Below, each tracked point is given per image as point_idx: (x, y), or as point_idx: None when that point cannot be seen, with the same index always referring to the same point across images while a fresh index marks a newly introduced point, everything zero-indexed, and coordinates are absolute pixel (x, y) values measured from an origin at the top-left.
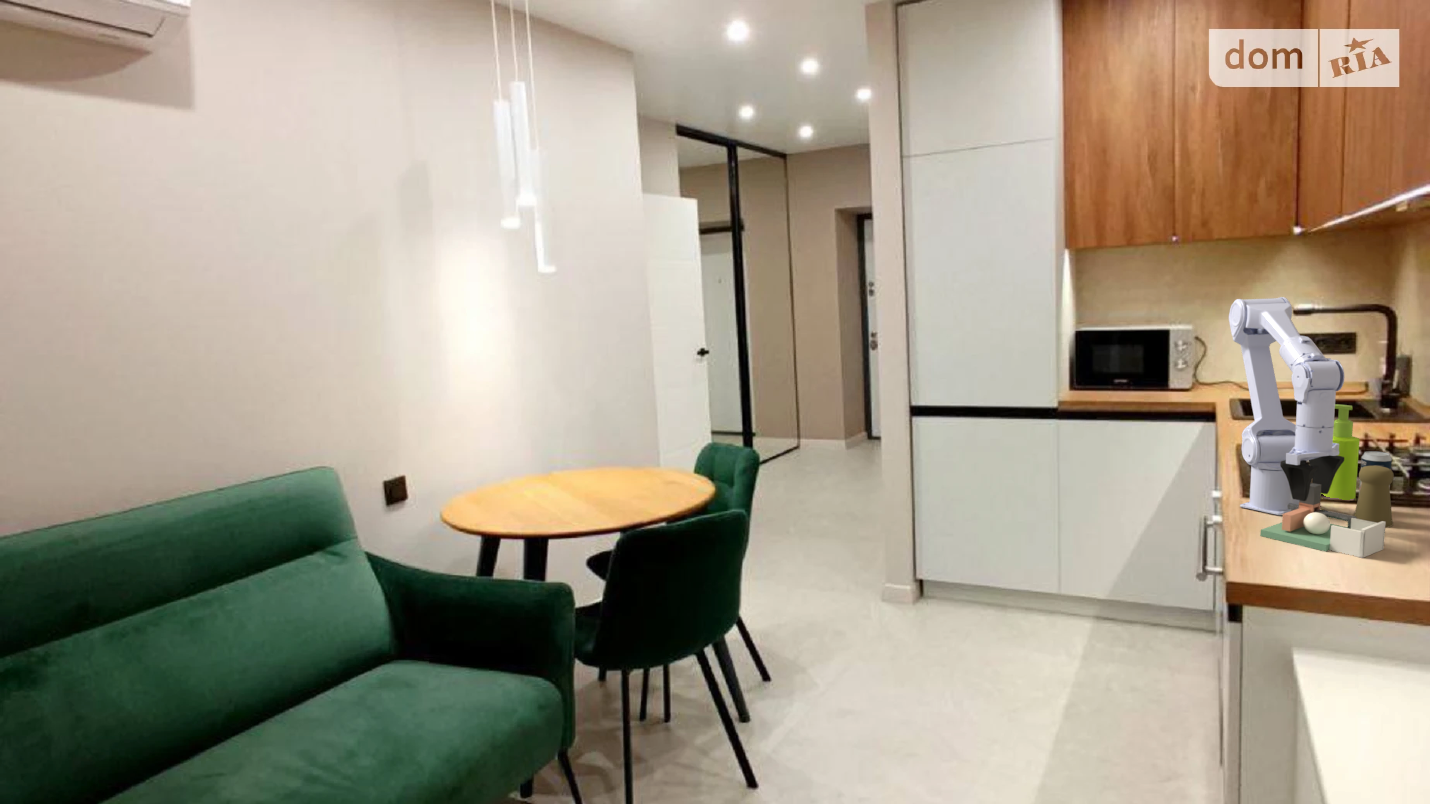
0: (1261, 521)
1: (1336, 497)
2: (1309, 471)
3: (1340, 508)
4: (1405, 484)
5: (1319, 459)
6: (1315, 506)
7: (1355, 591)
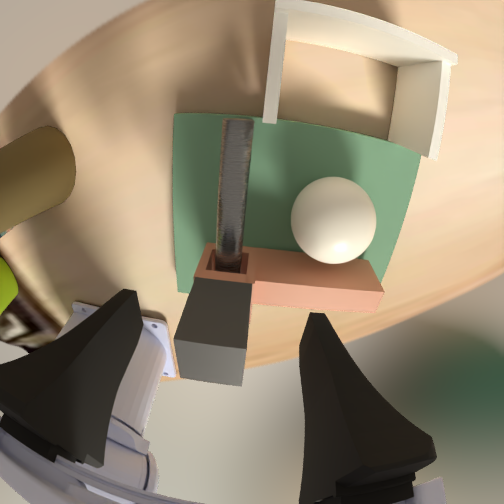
0: None
1: (7, 276)
2: (428, 438)
3: (27, 253)
4: None
5: (82, 444)
6: (236, 275)
7: None
